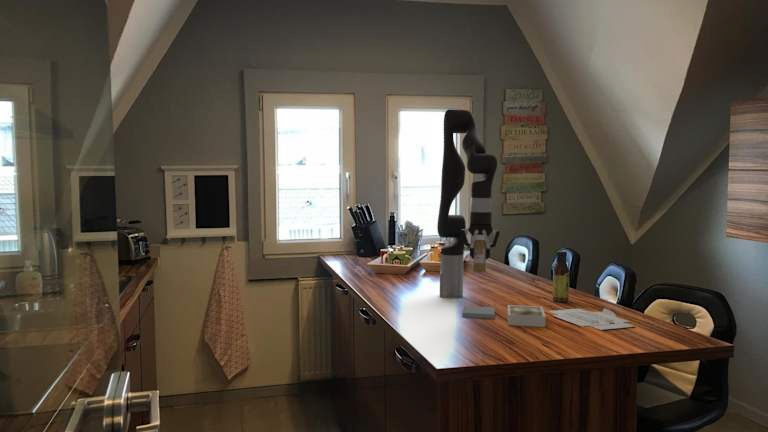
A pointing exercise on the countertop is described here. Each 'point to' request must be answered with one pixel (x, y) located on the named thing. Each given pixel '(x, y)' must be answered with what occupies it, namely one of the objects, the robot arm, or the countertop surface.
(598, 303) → the countertop surface
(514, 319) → the shallow white open box
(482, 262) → the sprinkles bottle
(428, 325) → the countertop surface
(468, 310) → the ceramic tile
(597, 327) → the white cloth
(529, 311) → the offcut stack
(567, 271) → the sauce bottle
